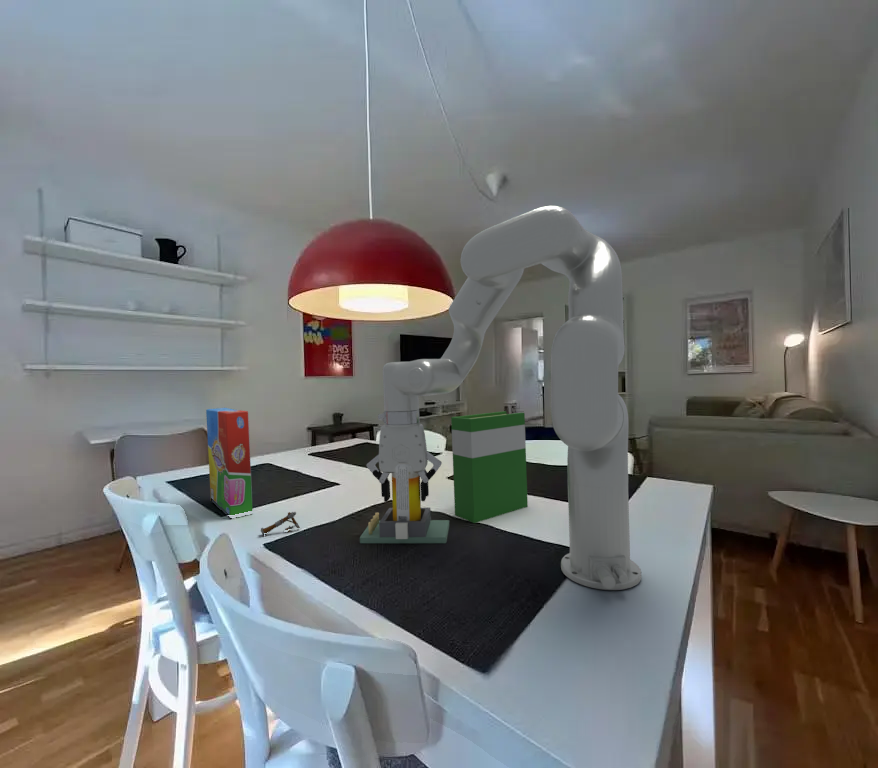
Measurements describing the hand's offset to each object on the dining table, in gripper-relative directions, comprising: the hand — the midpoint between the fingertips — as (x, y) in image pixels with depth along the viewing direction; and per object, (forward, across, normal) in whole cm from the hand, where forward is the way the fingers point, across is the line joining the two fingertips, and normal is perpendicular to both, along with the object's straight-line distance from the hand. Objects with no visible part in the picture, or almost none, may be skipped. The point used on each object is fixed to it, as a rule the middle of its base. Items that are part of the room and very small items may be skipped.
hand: (405, 499), depth 90 cm
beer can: (+7, 0, 0) cm, 7 cm away
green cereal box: (+8, +19, +15) cm, 25 cm away
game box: (+8, -52, +18) cm, 56 cm away
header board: (+8, 0, 0) cm, 8 cm away
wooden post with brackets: (+8, -29, +1) cm, 30 cm away
